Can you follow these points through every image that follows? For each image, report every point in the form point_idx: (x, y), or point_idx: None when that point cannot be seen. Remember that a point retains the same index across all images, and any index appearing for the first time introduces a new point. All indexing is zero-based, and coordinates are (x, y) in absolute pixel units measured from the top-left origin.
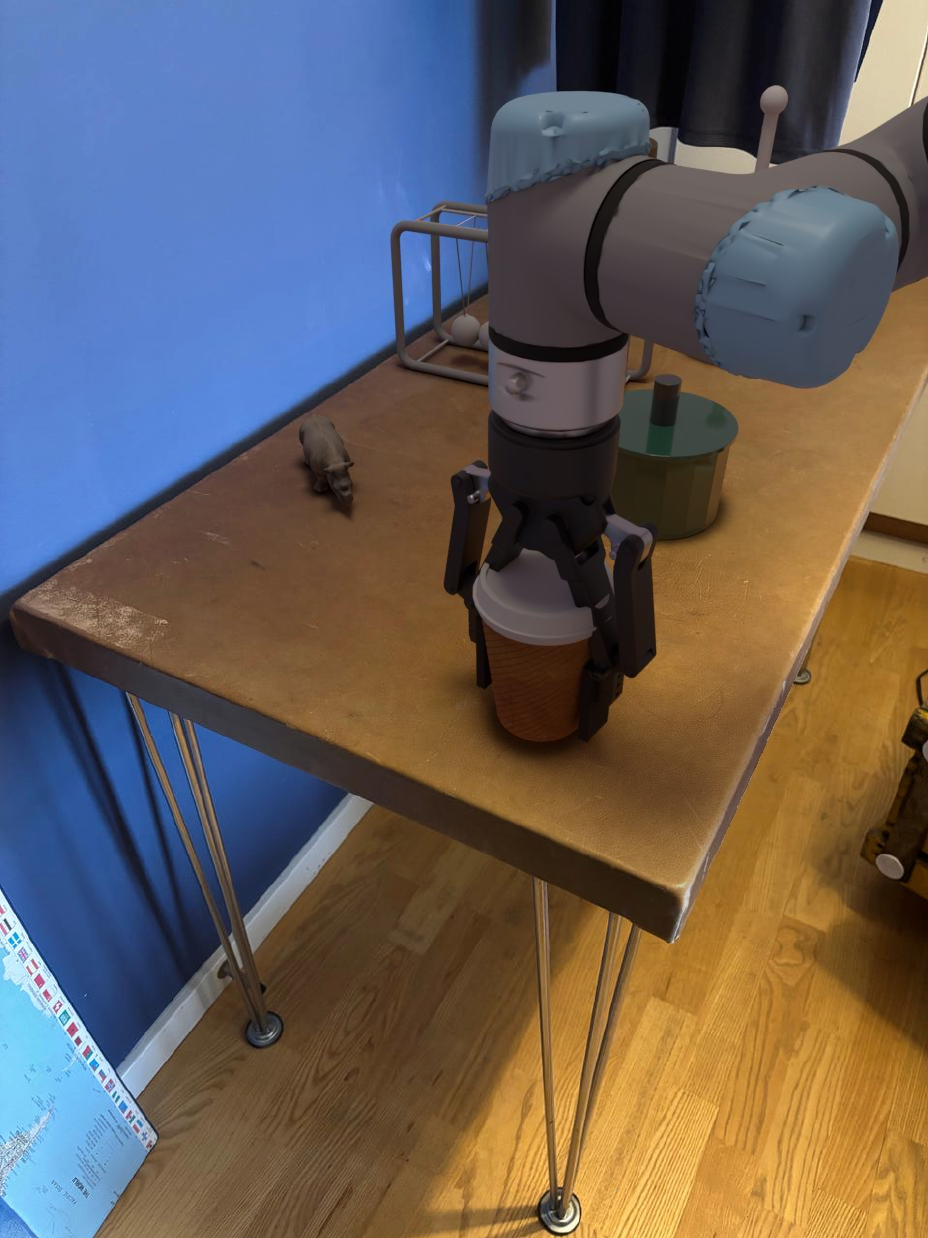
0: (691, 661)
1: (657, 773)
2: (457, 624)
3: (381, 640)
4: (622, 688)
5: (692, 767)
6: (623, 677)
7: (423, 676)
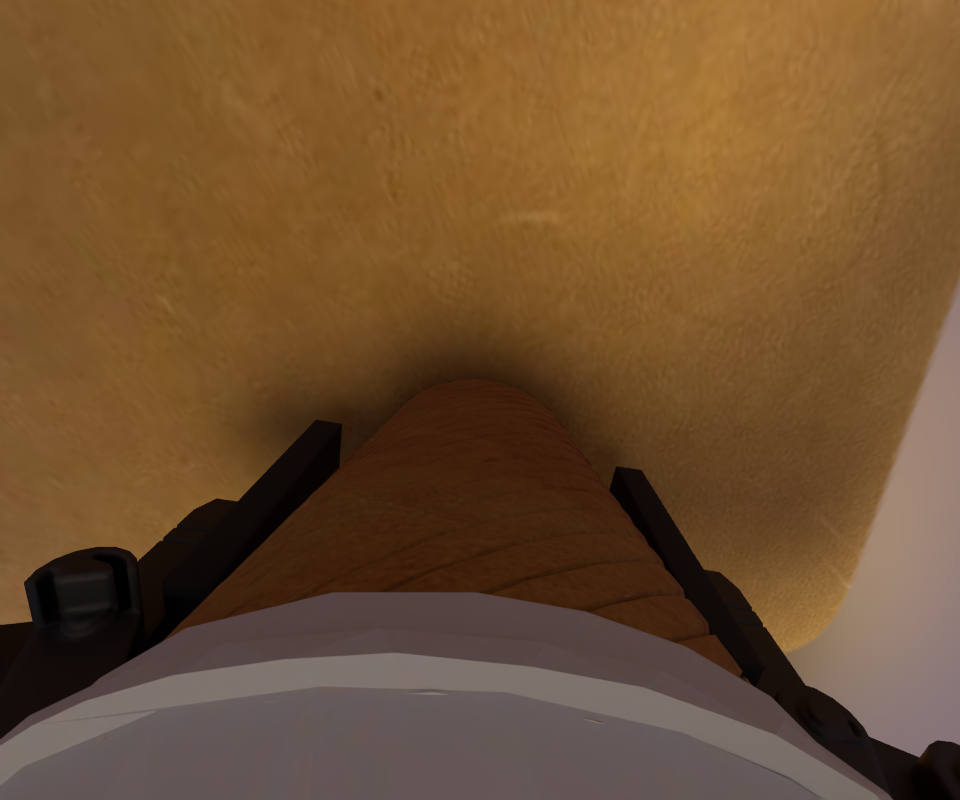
0: (781, 39)
1: (750, 479)
2: (101, 250)
3: (11, 403)
4: (747, 603)
5: (821, 433)
6: (773, 642)
7: (183, 460)
